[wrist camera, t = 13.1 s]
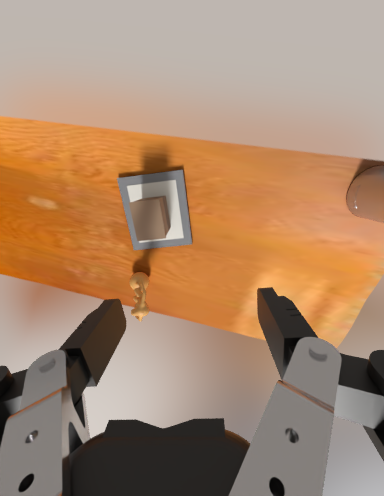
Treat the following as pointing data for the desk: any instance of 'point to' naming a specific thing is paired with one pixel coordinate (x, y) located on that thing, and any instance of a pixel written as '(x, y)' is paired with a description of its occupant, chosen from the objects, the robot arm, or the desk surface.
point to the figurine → (139, 294)
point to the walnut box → (150, 218)
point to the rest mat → (176, 199)
